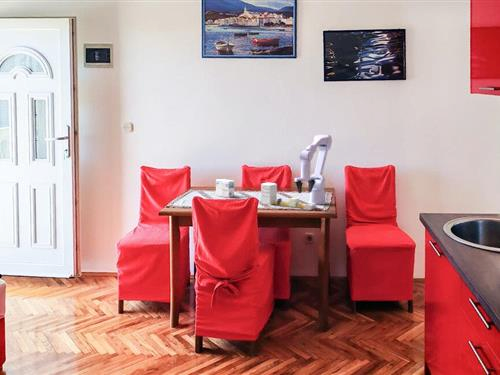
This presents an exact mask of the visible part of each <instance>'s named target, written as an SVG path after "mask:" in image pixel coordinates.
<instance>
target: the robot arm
mask: <svg viewBox="0 0 500 375" xmlns="http://www.w3.org/2000/svg"><path fill="white" fill-rule="evenodd" d="M332 139H333V138H332V136H331V135H326V134H318V133H317V134H315V136H314V139H313V140H314V141H313V142H312V143H311V144H309V145H308V146H307V147H306V148H305V149H304V150H302V151H301V152H299V161H300V177H299V176H298V177H294V183H295V185H296V188H297V191H298V194H302V189H303V184H304V182H305V181H307V187H308V188H307V190H308V192H309V201H307V202H306V204H307V203H315V204H316V206H317V205H326V204H327V203H326V200H327V199H326V196H327V195H326V194H327V193H326V191H325V186H326V178H325V176H323V172H324V168H325V164H326V160H327V155H328V151H329V150H331V147H332V142H333V141H332ZM317 150H319V152H318V157H317V160H316V164H315V169H314V173H312V174H311V165H312V164H311V163H312V162H311V161H312V160H313V157H314V155H315V153H316V152H317Z"/></svg>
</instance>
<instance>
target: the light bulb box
mask: <svg viewBox="0 0 500 375" xmlns="http://www.w3.org/2000/svg"><path fill="white" fill-rule="evenodd" d="M215 196H216V197H223V198H231V197H234V196H235V180H234V179H224V178H221V179H215Z"/></svg>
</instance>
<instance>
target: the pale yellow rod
mask: <svg viewBox="0 0 500 375" xmlns="http://www.w3.org/2000/svg"><path fill="white" fill-rule="evenodd" d="M282 200H283V199H282V198H280V197H279V198H278V199H277V201H274V204H273V205H275V206H276V205H277V206H285V207H290V206H289V204H290V201H289V202H288V201H282ZM306 204H307V203H296V207H295V208H300V209H301V208H302V209H305V205H306Z"/></svg>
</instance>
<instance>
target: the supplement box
mask: <svg viewBox="0 0 500 375" xmlns="http://www.w3.org/2000/svg"><path fill="white" fill-rule="evenodd" d="M277 193H278V184H277V183H273V182H265V183H261V184H260V204H263V205H268V206H271V205H275V204H274V201H277Z"/></svg>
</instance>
